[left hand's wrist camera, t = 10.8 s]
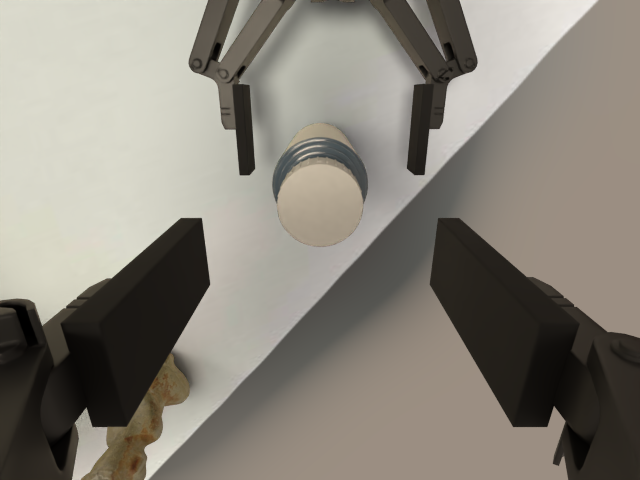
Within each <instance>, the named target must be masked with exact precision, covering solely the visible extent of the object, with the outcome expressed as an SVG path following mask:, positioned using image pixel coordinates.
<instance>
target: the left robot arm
mask: <svg viewBox="0 0 640 480" xmlns="http://www.w3.org/2000/svg"><path fill="white" fill-rule="evenodd" d="M209 286H210V279H209V271H208V263H207V255H206V247H205V239H204V231H203V224H202V218H181V219H179V220H178V221H177V222H176V223H175V224H174V225H173V226H171V227H170V228H169V229H168V230H167V231H166V232H164V233H163V234H162V235H161V236H160V237H159V238H158V239H156V240H155V241H154V242H153V243H152V244H151V245H150V246H148V247H147V248H146V249H145V250H144V251H143V252H142V253H140V254H139V255H138V256H137V257H136V258H135V259H134V260H132V261H131V262H130V263H129V264H128V265H127V266H125V267H124V268H123V269H122V270H121V271H120V272H119V273H117V274H116V275H115V276H114V277H113V278H112V279H105V280H103V281H101V282H99V283H97V284H95V285H93V286H91V287H89V288H88V289H87V290H85V291H84V292H83V293H82V294H81V295H79V296H78V297H77V300H73V301H72V302H71V303H70V304H68V305H67V306H66V308H64V309H62V310H61V311H60V312H59V313H58V314H56V315H55V316H54V317H53V318H51V319H50V320H49V321H48V322H47V323H45V324H44V325H43V326H42V324H41V321H40V318H39V315H38V312H37V309H36V307H35V304H34V303H33V302H32V301H30V300H27V299H10V300H1V301H0V480H72V476H73V470H74V464H75V458H76V452H77V446H78V440H79V438H78V431H77V428H76V425H75V422H76V420H77V419H78V418H79V416H80V415H81V414H82V412H83V411H84V410H85V408H86V407H87V410H88V414H89V417H90V420H91V423H92V426H93V427H127V426H128V424H129V422H130V421H131V419H132V417H133V415H134V414H135V412H136V410H137V409H138V407H139V405H140V403H141V402H142V400H143V398H144V397H145V395H146V393H147V392H148V390H149V388H150V386H151V385H152V383H153V381H154V380H155V378H156V376H157V374H158V373H159V371H160V369H161V368H162V366H163V364H164V362H165V361H166V359H167V357H168V356H169V354H170V352H171V351H172V349H173V347H174V345H175V344H176V342H177V340H178V339H179V337H180V335H181V333H182V332H183V330H184V328H185V327H186V325H187V323H188V321H189V320H190V318H191V316H192V315H193V313H194V311H195V310H196V308H197V306H198V304H199V303H200V301H201V299H202V298H203V296H204V294H205V292H206V291H207V289H208V287H209ZM430 286H431V287H432V289H433V291H434V292H435V294H436V296H437V298H438V299H439V301H440V303H441V304H442V306H443V308H444V309H445V311H446V313H447V315H448V316H449V318H450V320H451V321H452V323H453V325H454V327H455V328H456V330H457V332H458V333H459V335H460V337H461V338H462V340H463V342H464V344H465V345H466V347H467V349H468V351H469V352H470V354H471V356H472V357H473V359H474V361H475V362H476V364H477V366H478V368H479V369H480V371H481V373H482V374H483V376H484V378H485V379H486V381H487V383H488V385H489V386H490V388H491V390H492V392H493V393H494V395H495V397H496V398H497V400H498V402H499V403H500V405H501V407H502V409H503V410H504V412H505V414H506V415H507V417H508V419H509V421H510V422H511V424H512V426H513V427H547V426H548V423H549V420H550V417H551V414H552V410H553V407H554V406H555V408H556V409H557V410H558V412H559V413H560V414H561V416H562V417H563V418H564V420H565V421H566V422H565V425H564V428H563V431H562V434H561V437H560V440H559V443H558V446H557V449H556V452H555V455H554V460H553V464H555V465H558V466H559V464H560V461H561V458H562V457H563V456H564V457H565V463H566V469H567V474H568V480H640V338H637V337H634V336H630V335H627V334H622V333H614V332H607V331H605V330H604V329H603V328H602V327H601V326H599V325H598V324H597V323H596V322H594V321H593V320H592V319H591V318H590V317H588V316H587V315H586V314H585V313H583V312H582V311H581V310H580V309H579V308H577V307H574V304H572V303H571V302H570V301H569V300H567V299H566V298H564V297H563V295H561V294H560V293H559V292H558V291H557V290H555V289H554V288H553V287H552V286H550V285H548V284H546V283H544V282H542V281H540V280H538V279H536V278H534V277H526V276H525V275H524V274H523V273H521V272H520V271H519V270H518V269H517V268H516V267H515V266H513V265H512V264H511V263H510V262H509V261H508V260H506V259H505V258H504V257H503V256H502V255H501V254H500V253H498V252H497V251H496V250H495V249H494V248H493V247H492V246H490V245H489V244H488V243H487V242H486V241H485V240H484V239H482V238H481V237H480V236H479V235H478V234H477V233H475V232H474V231H473V230H472V229H471V228H470V227H469V226H467V225H466V224H465V223H464V222H463V221H462V220H461V219H459V218H438V224H437V231H436V239H435V247H434V255H433V263H432V271H431V279H430Z"/></svg>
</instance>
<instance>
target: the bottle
mask: <svg viewBox="0 0 640 480" xmlns="http://www.w3.org/2000/svg"><path fill="white" fill-rule="evenodd" d="M317 157H323V158H326V157H328V158H329V159H333V160H335V159H336V161H338V162H340V163H341V164H344V166H346V167H347V168H348V169H350V170H351V172H352V174H353V176H355V177H356V179H357V182H358V184H359V186H360V188H361V191H362V192H361V194H362V198H363V204H364V201H365V199H366V195H367V189H368V179H367V173H366V170H365V167H364V165H363V163H362V161H361V159H360V157H359V156H358V154H357V153H356V151H355V150H354V148H353V147H352V145H351V144H350V142H349V141H348V139H347V138H346V136H345V135H344V134H343V133H342V132H341V131H340V130H339V129H338V128H336V127H334V126H332V125H329V124H325V123H315V124H311V125H308V126H306V127H304V128H303V129H301V130H300V131H299V132H298V133H297V134H296V135H295V136H294V138H293V139H292V141H291V143H290V144H289V146H288V147H287V149H286V150H285V152H284V153H283V155H282V157H281V158H280V160H279V161H278V163H277V165H276V168H275V171H274V175H273V184H272V186H273V194H274V198H275V200H276V203H277V201H278V197H277V196H278V193H279V191H280V189H281V188H280V186H281V184H282V182H283V180H284V179H285V177H286V175H287V173H289V172H290V171H291V170H292V168H293V166H294V167H295V166H296V165H298V164H299V163H300V162H303V161H305V160H308V158H310V159H311V158H317Z"/></svg>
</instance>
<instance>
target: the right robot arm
mask: <svg viewBox="0 0 640 480" xmlns="http://www.w3.org/2000/svg"><path fill="white" fill-rule="evenodd" d="M295 1H296V0H262V1H261V2H260V4H259V5H258V7H257V8H256V10H255V11H254V13H253V14H252V16H251V17H250V19H249V20H248V22H247V23H246V25H245V26H244V28H243V29H242V31H241V32H240V34H239V35H238V37H237V38H236V40H235V41H234V43H233V44H232V46H231V47H230V49H229V50H228V52H227V53H226V55H225V56H224V58H223V59H222V61H221V62H218V59H219V56H220V54H221V51H222V48H223V45H224V42H225V39H226V37H227V34H228V31H229V28H230V25H231V22H232V20H233V17H234V14H235V11H236V8H237V5H238V3H239V0H208V3H207V6H206V9H205V12H204V15H203V18H202V21H201V24H200V27H199V30H198V34H197V37H196V40H195V43H194V46H193V49H192V52H191V55H190V58H189V67H190V68H191V70H192V71H193V72H195V73H199V74H201V75H204V76H207V77H209V78H211V79H213V80H214V81H215V82H216V83H217V85H218V89H219V99H220V108H221V120H222V124H223V126H224V128H225V129H236V137H237V149H238V161H239V173H240V175H250V174H251V173H252V172H253V171H254V170H255V159H254V145H253V130H252V115H251V100H250V86H249V85H244V84H238V83H239V82H240V81H238V80H239V79H240V77H241V76H242V75H243V73H244V72H245V70H246V69H247V67H248V66H249V65H250V63H251V62H252V60H253V59H254V57H255V56H256V55H257V53H258V52H259V50H260V49H261V47H262V46H263V44H264V43H265V42H266V40H267V39H268V37H269V36H270V34H271V33H272V32H273V30H274V29H275V27H276V26H277V24H278V23H279V21H280V20H281V19H282V17H283V16H284V14H285V13H286V12H287V10H289V9H290V8H291V6H292V5H293V4H294V2H295ZM324 1H327V0H311V2H324ZM338 1H342V2H355V0H338ZM369 1H370V2H371V4H372V5H373V6H374V8H375V9H377V10H378V11H379V12H380V14H381V15H382V17H383V18H384V20H385V21H386V23H387V24H388V26H389V27H390V29H391V30H392V32H393V33H394V34H395V36H396V37H397V39H398V40H399V42H400V43H401V45H402V46H403V48H404V49H405V51H406V52H407V54H408V55H409V57H410V58H411V60H412V61H413V62H414V64H415V65H416V67H417V68H418V70H419V71H420V73H421V74H422V76H423V77H424V79H425V80H426V84H419V85H414V94H413V105H412V117H411V128H410V139H409V151H408V162H407V169H408V170H409V171H410V172H412V173H413V174H414V175H424V174H425V165H426V155H427V146H428V136H429V129H440V127H441V125H442V123H443V116H444V107H445V99H446V90H447V86H448V83H449V82H450V81H451V80H452V79H453V78H455V77H458V76H460V75H463V74H466V73H469V72H472V71H473V70H475V68H476V67H477V63H478V62H477V57H476V53H475V50H474V47H473V44H472V40H471V37H470V34H469V30H468V27H467V24H466V21H465V17H464V14H463V11H462V7H461V4H460V1H459V0H426V1H427V4H428V7H429V10H430V13H431V16H432V19H433V22H434V25H435V28H436V31H437V34H438V37H439V40H440V43H441V46H442V49H443V52H444V55H445V58H446V61H445V60H444V58H443V57H442V55H441V54H440V52H439V50H438V49H437V47H436V46H435V44H434V43H433V41H432V40H431V38H430V37H429V35H428V33H427V32H426V30H425V29H424V27H423V26H422V24H421V23H420V21H419V20H418V18H417V17H416V15H415V13H414V12H413V10H412V9H411V7H410V6H409V4H408V3H407V1H406V0H369Z"/></svg>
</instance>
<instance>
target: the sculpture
mask: <svg viewBox="0 0 640 480" xmlns="http://www.w3.org/2000/svg"><path fill="white" fill-rule="evenodd" d="M189 391H190V387H189V383H188V381H187V379H186V377H185V376H184V375H183V373H182V372H181V371H180V370H179V369H178V368H177V367H176V366H175V364H174V356H173V355H172V354H171V353H170V354H169V356H168V357H167V359H166V361H165V362H164V364H163V366H162V368H161V369H160V371H159V373H158V374H157V376H156V378H155V380H154V381H153V383H152V385H151V386H150V388H149V390H148V392H147V393H146V395H145V397H144V398H143V400H142V402H141V403H140V405H139V407H138V409H137V410H136V412H135V414H134V415H133V417H132V419H131V421H130V422H129V424H128V426H127V427H108V428H107V438H106V441H107V445H108V447H109V448H108V449H107V450H106V452H105V453H104V454H103V455H102V456H101V457H100V458H99V460H98V461H97V462H96V463H95V465H94V467H93V468H92V470H91V472H90V473H88V474H87V475H85V476H84V477H83V478H82V479H81V480H144V478H145V477H146V461H147V456H146V454H145V452H144V448H145V447H146V446H147V445H149V444H151V443H153V442H155V441H156V440H158V439H159V437H160V436H161V433H162V430H163V423H162V417H161V416H162V412H163V408H164V406H169V405H175V404H180V403H182V402H184V401H185V400H186V398H187V397H188V396H189Z"/></svg>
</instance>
